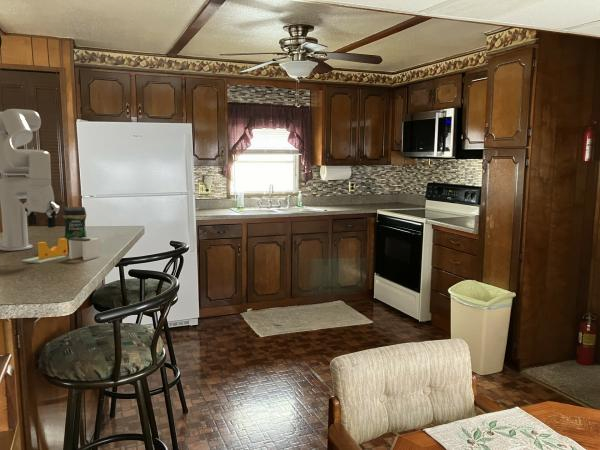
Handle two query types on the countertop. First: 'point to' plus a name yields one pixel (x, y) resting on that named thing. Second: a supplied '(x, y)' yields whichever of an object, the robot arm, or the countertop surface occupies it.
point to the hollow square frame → (84, 248)
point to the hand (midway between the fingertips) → (42, 226)
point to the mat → (36, 260)
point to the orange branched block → (52, 249)
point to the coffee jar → (74, 223)
